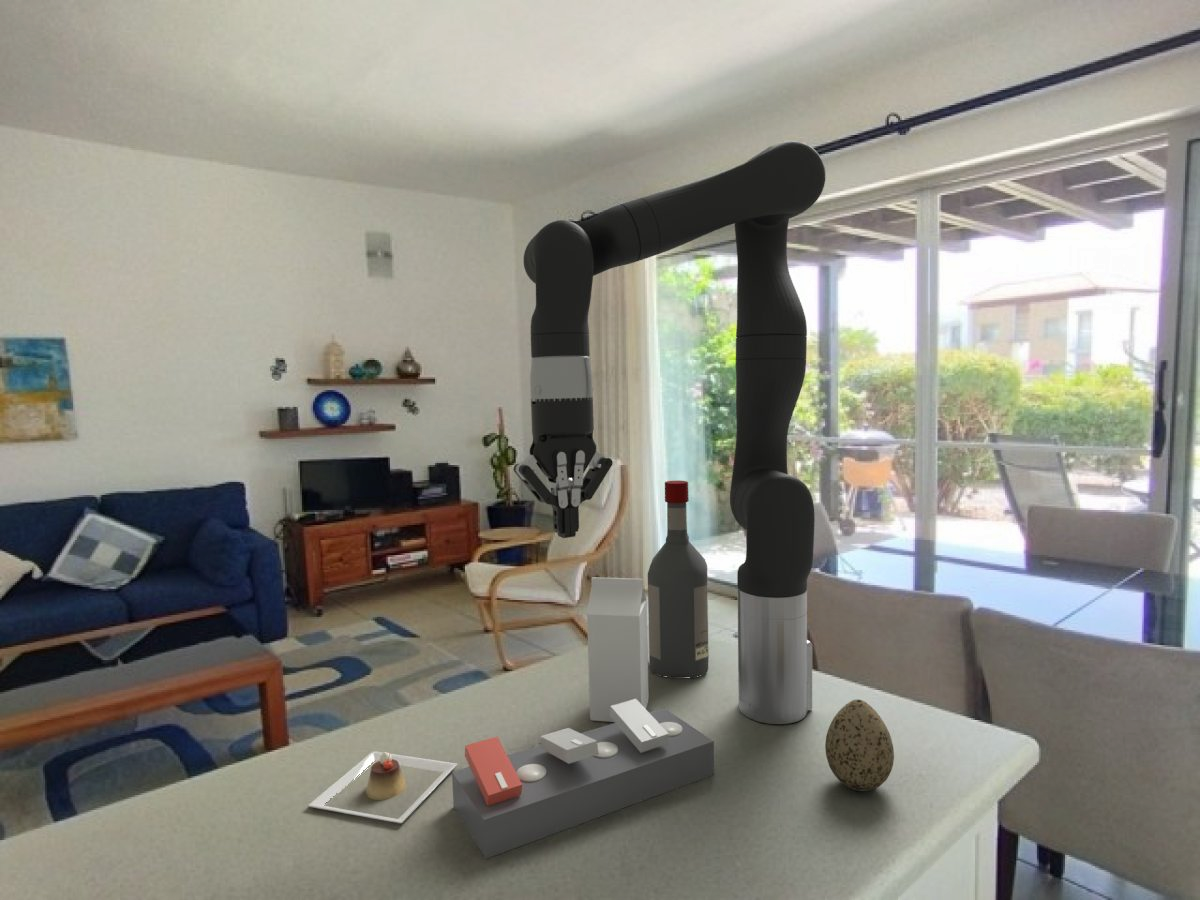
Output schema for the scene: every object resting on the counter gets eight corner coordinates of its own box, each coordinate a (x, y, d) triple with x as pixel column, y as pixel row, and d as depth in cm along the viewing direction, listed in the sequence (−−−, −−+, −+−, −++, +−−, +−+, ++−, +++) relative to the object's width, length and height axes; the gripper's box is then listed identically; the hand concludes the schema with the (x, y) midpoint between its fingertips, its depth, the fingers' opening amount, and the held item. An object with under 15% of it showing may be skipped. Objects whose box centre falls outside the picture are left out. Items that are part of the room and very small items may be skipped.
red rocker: (496, 746, 77) (497, 735, 77) (521, 795, 72) (522, 783, 71) (464, 755, 75) (465, 744, 75) (487, 806, 70) (488, 794, 69)
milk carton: (641, 725, 94) (638, 586, 92) (589, 721, 96) (585, 584, 94) (648, 701, 101) (646, 572, 99) (600, 698, 102) (596, 570, 101)
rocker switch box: (665, 737, 91) (664, 706, 90) (714, 774, 82) (713, 739, 81) (453, 806, 77) (451, 770, 76) (485, 858, 68) (483, 817, 68)
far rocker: (634, 708, 86) (636, 697, 86) (667, 744, 80) (668, 732, 80) (609, 716, 84) (610, 705, 84) (640, 752, 78) (642, 741, 78)
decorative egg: (815, 791, 78) (815, 704, 77) (837, 762, 84) (837, 681, 83) (882, 813, 74) (883, 722, 73) (901, 782, 79) (902, 696, 78)
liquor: (648, 677, 109) (644, 486, 107) (653, 655, 118) (650, 478, 116) (708, 680, 108) (705, 486, 105) (708, 657, 117) (706, 478, 114)
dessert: (402, 833, 73) (399, 789, 73) (306, 815, 77) (304, 773, 77) (458, 772, 85) (456, 734, 84) (373, 759, 88) (371, 722, 88)
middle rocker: (570, 740, 82) (568, 726, 82) (598, 754, 76) (596, 739, 76) (541, 748, 80) (540, 735, 80) (568, 763, 74) (567, 748, 74)
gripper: (594, 393, 92) (598, 525, 93) (499, 397, 85) (504, 538, 87) (624, 393, 85) (628, 534, 87) (523, 397, 79) (529, 549, 80)
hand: (566, 536), depth 87 cm, fingers closed
